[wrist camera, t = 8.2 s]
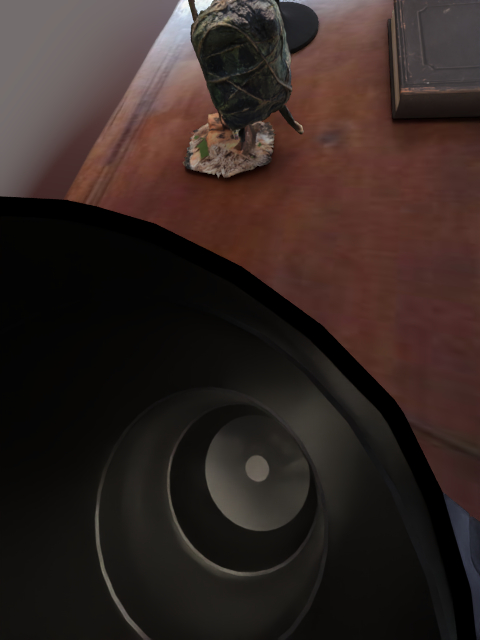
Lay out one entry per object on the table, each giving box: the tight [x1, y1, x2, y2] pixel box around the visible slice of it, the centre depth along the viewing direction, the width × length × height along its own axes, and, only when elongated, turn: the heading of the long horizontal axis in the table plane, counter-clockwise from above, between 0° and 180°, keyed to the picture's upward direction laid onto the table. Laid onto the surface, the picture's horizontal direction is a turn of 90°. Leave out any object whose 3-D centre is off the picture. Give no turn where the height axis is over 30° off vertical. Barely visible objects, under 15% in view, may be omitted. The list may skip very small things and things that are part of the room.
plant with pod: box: [182, 0, 303, 178], centre depth 20 cm, size 8×11×20 cm
